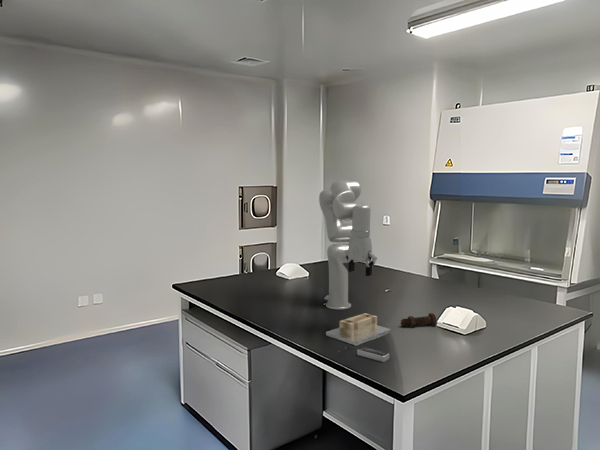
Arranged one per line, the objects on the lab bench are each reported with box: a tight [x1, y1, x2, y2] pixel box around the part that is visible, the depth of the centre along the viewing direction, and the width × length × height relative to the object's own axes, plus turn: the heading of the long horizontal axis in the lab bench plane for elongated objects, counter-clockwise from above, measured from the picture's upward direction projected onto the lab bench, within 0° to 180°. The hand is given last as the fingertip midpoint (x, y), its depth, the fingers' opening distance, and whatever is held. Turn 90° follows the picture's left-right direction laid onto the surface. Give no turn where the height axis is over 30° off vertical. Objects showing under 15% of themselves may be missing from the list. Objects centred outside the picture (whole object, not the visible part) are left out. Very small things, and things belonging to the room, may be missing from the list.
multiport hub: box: [356, 346, 390, 363], centre depth 164 cm, size 4×11×2 cm, turn 51°
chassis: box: [325, 324, 392, 347], centre depth 188 cm, size 16×22×4 cm
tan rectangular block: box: [339, 313, 378, 337], centre depth 188 cm, size 6×16×5 cm, turn 132°
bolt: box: [400, 312, 437, 328], centre depth 198 cm, size 6×5×15 cm
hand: (359, 273), depth 196 cm, fingers open, 9 cm apart
